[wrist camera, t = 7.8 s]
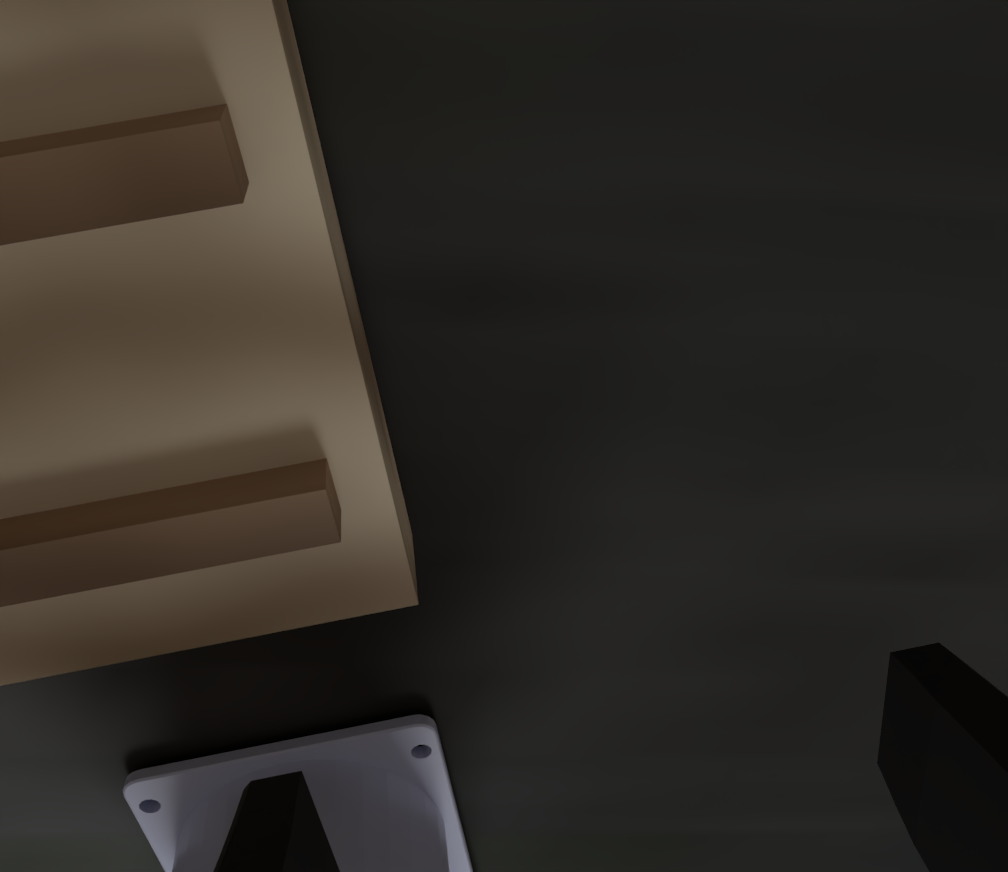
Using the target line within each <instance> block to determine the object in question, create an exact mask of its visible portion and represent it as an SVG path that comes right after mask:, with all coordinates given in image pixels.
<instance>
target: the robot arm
mask: <svg viewBox="0 0 1008 872" xmlns="http://www.w3.org/2000/svg"><path fill="white" fill-rule="evenodd" d="M418 745H424V746H418ZM877 763H878V765H879V768H880V770H881V772H882V775H883V777H884V779H885V782H886V784H887V786H888V788H889V791H890V793H891V795H892V798H893V800H894V802H895V805H896V807H897V809H898V811H899V813H900V816H901V818H902V820H903V822H904V824H905V826H906V828H907V831H908V833H909V835H910V837H911V839H912V841H913V844H914V845H915V847H916V849H917V851H918V852H919V854H920V856H921V858H922V859H923V861H924V863H925V865H926V866H927V868H928V870H929V871H930V872H1008V697H1007V696H1006V695H1005V694H1003V693H1002V692H1001V691H1000V690H998V689H997V688H996V687H995V686H993V685H992V684H991V683H990V682H988V681H987V680H986V679H985V678H983V677H982V676H981V675H980V674H978V673H977V672H976V671H975V670H973V669H972V668H971V667H970V666H968V665H967V664H966V663H964V662H963V661H962V660H961V659H959V658H958V657H957V656H956V655H954V654H953V653H952V652H950V651H949V650H948V649H947V648H945V647H944V646H943V645H941V644H940V643H935V644H930V645H925V646H920V647H915V648H910V649H905V650H900V651H895V652H890V659H889V668H888V676H887V685H886V693H885V702H884V710H883V719H882V728H881V736H880V745H879V753H878V762H877ZM123 794H124V797H125V799H126V801H127V803H128V805H129V806H130V808H131V810H132V812H133V814H134V816H135V817H136V819H137V821H138V823H139V825H140V827H141V828H142V830H143V832H144V834H145V836H146V838H147V839H148V841H149V843H150V845H151V847H152V849H153V850H154V852H155V854H156V856H157V858H158V860H159V861H160V863H161V865H162V867H163V869H164V871H165V872H473V868H472V864H471V860H470V856H469V852H468V848H467V845H466V841H465V837H464V833H463V829H462V825H461V821H460V817H459V813H458V809H457V805H456V801H455V797H454V793H453V789H452V785H451V781H450V777H449V773H448V769H447V765H446V761H445V757H444V754H443V750H442V746H441V742H440V738H439V734H438V730H437V726H436V723H435V722H434V720H433V719H432V718H430V717H429V716H425V715H421V714H420V715H410V716H405V717H400V718H395V719H390V720H385V721H380V722H375V723H370V724H365V725H360V726H355V727H350V728H345V729H340V730H335V731H330V732H325V733H320V734H315V735H310V736H305V737H300V738H295V739H290V740H285V741H280V742H275V743H270V744H265V745H260V746H255V747H250V748H245V749H240V750H235V751H230V752H225V753H220V754H215V755H210V756H205V757H200V758H195V759H190V760H185V761H180V762H175V763H170V764H165V765H160V766H155V767H149V768H144V769H140V770H137V771H134V772H132V773H131V774H129V775H128V776H127V778H126V780H125V784H124V788H123ZM150 799H152V800H150Z"/></svg>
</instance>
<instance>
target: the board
mask: <svg viewBox="0 0 1008 872" xmlns="http://www.w3.org/2000/svg"><path fill="white" fill-rule="evenodd" d="M414 605H419V604H418V593H417V582H416V571H415V560H414V549H413V538H412V531H411V527H410V523H409V518H408V514H407V510H406V506H405V501H404V497H403V493H402V489H401V484H400V480H399V476H398V472H397V467H396V463H395V459H394V455H393V450H392V446H391V442H390V438H389V434H388V429H387V425H386V421H385V417H384V412H383V408H382V404H381V400H380V395H379V391H378V387H377V383H376V378H375V374H374V370H373V366H372V361H371V357H370V353H369V349H368V344H367V340H366V336H365V332H364V327H363V323H362V319H361V315H360V310H359V306H358V302H357V298H356V293H355V289H354V285H353V281H352V276H351V272H350V268H349V264H348V259H347V255H346V251H345V247H344V242H343V238H342V234H341V230H340V225H339V221H338V217H337V213H336V208H335V204H334V200H333V196H332V191H331V187H330V183H329V179H328V174H327V170H326V166H325V162H324V157H323V153H322V149H321V145H320V140H319V136H318V132H317V128H316V123H315V119H314V115H313V111H312V106H311V102H310V98H309V94H308V89H307V85H306V81H305V77H304V72H303V68H302V64H301V60H300V55H299V51H298V47H297V43H296V38H295V34H294V30H293V26H292V21H291V17H290V13H289V9H288V4H287V0H0V686H2V685H7V684H13V683H18V682H23V681H28V680H33V679H38V678H43V677H49V676H54V675H59V674H64V673H69V672H74V671H80V670H85V669H90V668H95V667H100V666H105V665H110V664H116V663H121V662H126V661H131V660H136V659H141V658H146V657H152V656H157V655H162V654H167V653H172V652H177V651H183V650H188V649H193V648H198V647H203V646H208V645H213V644H219V643H224V642H229V641H234V640H239V639H244V638H249V637H255V636H260V635H265V634H270V633H275V632H280V631H286V630H291V629H296V628H301V627H306V626H311V625H316V624H322V623H327V622H332V621H337V620H342V619H347V618H352V617H358V616H363V615H368V614H373V613H378V612H383V611H388V610H394V609H399V608H404V607H409V606H414Z"/></svg>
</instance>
